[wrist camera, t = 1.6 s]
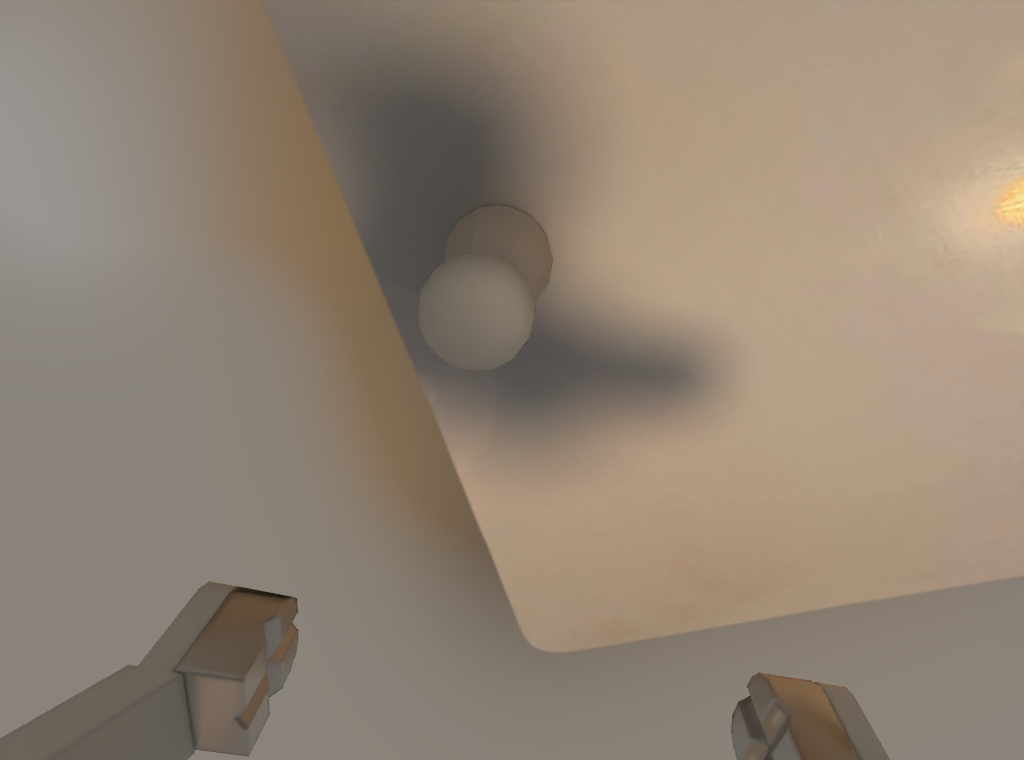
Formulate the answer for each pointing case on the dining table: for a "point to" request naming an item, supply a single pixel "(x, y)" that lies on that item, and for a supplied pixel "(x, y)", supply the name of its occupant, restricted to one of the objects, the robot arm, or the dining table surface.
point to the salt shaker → (485, 289)
